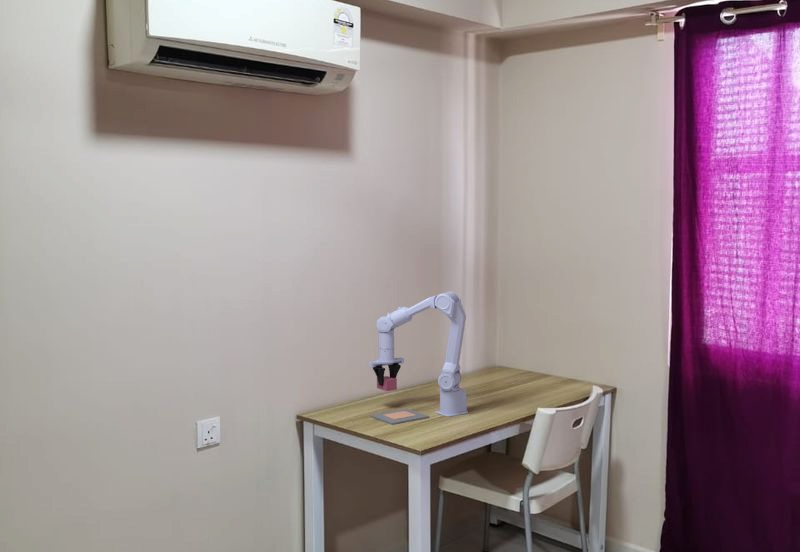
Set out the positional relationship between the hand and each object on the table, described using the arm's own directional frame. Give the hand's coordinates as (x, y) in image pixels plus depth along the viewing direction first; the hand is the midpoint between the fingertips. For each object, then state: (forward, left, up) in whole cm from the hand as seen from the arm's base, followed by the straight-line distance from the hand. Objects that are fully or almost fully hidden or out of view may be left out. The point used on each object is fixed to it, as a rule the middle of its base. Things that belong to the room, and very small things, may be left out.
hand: (386, 384), depth 298 cm
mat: (+4, +14, -9) cm, 17 cm away
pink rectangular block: (0, 0, -2) cm, 2 cm away
